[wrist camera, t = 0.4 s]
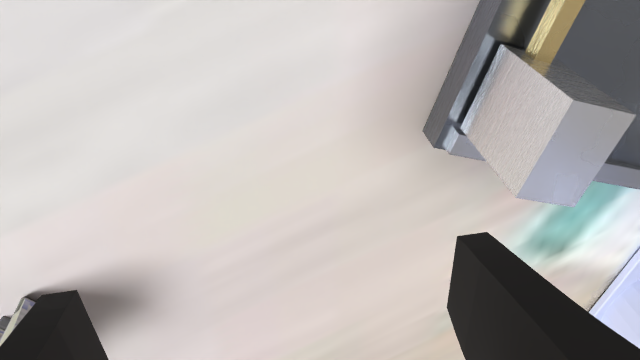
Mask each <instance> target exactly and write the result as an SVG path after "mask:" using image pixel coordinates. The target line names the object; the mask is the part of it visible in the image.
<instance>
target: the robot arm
mask: <svg viewBox="0 0 640 360" xmlns="http://www.w3.org/2000/svg"><path fill="white" fill-rule="evenodd" d="M447 309H448V312H449V315H450V318H451V321H452V324H453V327H454V330H455V333H456V336H457V338H458V341H459V344H460V347H461V349H462V352H463V355H464V357H465V359H466V360H640V249H639V250H638V251H637V252H636V254H635V255H634V256H633V257H632V259H631V260H630V261H629V262H628V264H627V265H626V266H625V267H624V269H623V270H622V271H621V272H620V274H619V275H618V276H617V277H616V279H615V280H614V281H613V282H612V284H611V285H610V286H609V287H608V289H607V290H606V291H605V292H604V294H603V295H602V296H601V297H600V299H599V300H598V301H597V302H596V304H595V305H594V306H593V308H592V309H591V310H590V311H589V312H587V311H586V310H585V309H583V308H582V307H581V306H579V305H578V304H577V303H575V302H574V301H573V300H571V299H570V298H569V297H567V296H566V295H565V294H564V293H562V292H561V291H560V290H558V289H557V288H556V287H555V286H553V285H552V284H551V283H550V282H548V281H547V280H546V279H544V278H543V277H542V276H541V275H539V274H538V273H537V272H536V271H535V270H533V269H532V268H531V267H530V266H528V265H527V264H526V263H525V262H523V261H522V260H521V259H520V258H518V257H517V256H516V255H515V254H514V253H512V252H511V251H510V250H509V249H507V248H506V247H505V246H504V245H503V244H501V243H500V242H499V241H498V240H496V239H495V238H494V237H493V236H491V235H490V234H489V233H487V232H484V233H477V234H470V235H463V236H457V241H456V248H455V255H454V262H453V269H452V276H451V283H450V290H449V296H448V303H447ZM0 360H108V358H107V355H106V353H105V351H104V349H103V347H102V344H101V342H100V340H99V338H98V336H97V333H96V331H95V329H94V327H93V325H92V322H91V320H90V318H89V316H88V314H87V311H86V309H85V307H84V305H83V303H82V301H81V298H80V296H79V294H78V292H77V290H74V291H67V292H60V293H53V294H46V295H42V296H41V297H40V298H39V299H38V301H37V302H36V303H35V304H34V305H33V307H32V308H31V309H30V310H29V311H28V313H27V314H26V315H25V316H24V317H23V319H22V320H21V321H20V322H19V324H18V325H17V326H16V327H15V329H14V330H13V331H12V332H11V333H10V335H9V336H8V337H7V338H6V340H5V341H4V342H3V343H2V345H1V346H0Z"/></svg>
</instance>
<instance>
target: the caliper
mask: <svg viewBox="0 0 640 360" xmlns="http://www.w3.org/2000/svg"><path fill="white" fill-rule="evenodd" d="M35 303H36V302H34V301H32V300H30V299H28V298H25V297H23V298H22V299H21V300H20V302H19V304H18V306H17V308H16V310H15V312H14V314H13V316H12V318H11V319H10V318H8V317H5V316H3V317H2V318H1V319H0V346H1V345H2V343H3V342H4V341H5V340H6V338H7V337H8V336H9V335H10V333H11V332H12V331H13V330H14V329H15V327H16V326H17V325H18V324H19V322H20V321H21V320H22V319H23V317H24V316H25V315H26V314H27V313H28V311H29V310H30V309H31V308H32V307H33V305H34V304H35Z"/></svg>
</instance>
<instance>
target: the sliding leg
mask: <svg viewBox="0 0 640 360" xmlns="http://www.w3.org/2000/svg"><path fill="white" fill-rule="evenodd" d="M584 2H585V0H551V2H550V4H549V6H548V7H547V9H546V11H545V13H544V15H543V17H542V19H541V21H540V23H539V25H538V27H537V29H536V31H535V33H534V35H533V37H532V39H531V41H530V43H529V45H528V47H527V48H526V50H523V49H519V48H515V47H512V46H508V45H504V44H501V45H500V47H499V49H498V51H497V53H496V55H495V57H494V59H493V61H492V63H491V65H490V68H489V70H488V72H487V74H486V76H485V78H484V80H483V82H482V84H481V86H480V88H479V90H478V92H477V94H476V97H475V99H474V101H473V103H472V105H471V107H470V109H469V111H468V113H467V115H466V117H465V119H464V121H463V123H462V126H461V129H462V131H463V132H464V133H465V135H466V136H467V137H468V138H469V140H470V141H471V142H472V143H473V145H474V146H475V147H476V148H477V150H478V151H479V152H480V153H481V155H482V156H483V157H484V159H485V160H486V161H487V162H488V164H489V165H490V166H491V167H492V169H493V170H494V171H495V172H496V174H497V175H498V176H499V177H500V179H501V180H502V181H503V183H504V184H505V185H506V186H507V188H508V189H509V190H510V191H511V193H512V194H513V195H514V196H515V198H520V199H526V200H533V201H539V202H545V203H551V204H557V205H563V206H569V207H575V205H576V204H577V203H578V201H579V200H580V198H581V197H582V195H583V194H584V192H585V191H586V189H587V188H588V186H589V185H590V183H591V182H592V180H593V179H594V177H595V176H596V174H597V173H598V171H599V170H600V168H601V167H602V165H603V164H604V163H605V161H606V160H607V158H608V157H609V155H610V154H611V152H612V151H613V149H614V148H615V146H616V145H617V143H618V142H619V140H620V139H621V137H622V136H623V134H624V133H625V131H626V130H627V128H628V127H629V125H630V124H631V123H632V121H633V120H634V118H635V117H636V114H634V113H633V112H631V111H630V110H629V109H627V108H626V107H624V106H623V105H621V104H620V103H619V102H617V101H616V100H614V99H613V98H611V97H610V96H608V95H607V94H606V93H604V92H603V91H601V90H600V89H598V88H597V87H596V86H594V85H593V84H591V83H590V82H588V81H587V80H585V79H584V78H583V77H581V76H580V75H578V74H577V73H575V72H574V71H573V70H571V69H570V68H568V67H567V66H565V65H564V64H562V63H561V62H560V61H558V60H557V59H555V58H554V57H555V55H556V53H557V51H558V50H559V48H560V46H561V44H562V42H563V40H564V39H565V37H566V35H567V33H568V31H569V29H570V28H571V26H572V24H573V22H574V20H575V18H576V17H577V15H578V13H579V11H580V9H581V7H582V6H583V4H584Z"/></svg>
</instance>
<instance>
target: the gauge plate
mask: <svg viewBox="0 0 640 360" xmlns="http://www.w3.org/2000/svg"><path fill="white" fill-rule="evenodd" d="M550 2H551V0H480V2H479V4H478V7H477V9H476V11H475V13H474V16H473V18H472V20H471V22H470V25H469V27H468V29H467V32H466V34H465V36H464V38H463V41H462V43H461V45H460V47H459V50H458V52H457V54H456V57H455V59H454V61H453V63H452V66H451V68H450V70H449V72H448V75H447V77H446V79H445V81H444V84H443V86H442V88H441V91H440V93H439V95H438V97H437V100H436V102H435V104H434V106H433V109H432V111H431V113H430V115H429V118H428V120H427V122H426V125H425V127H424V129H423V132H424V134H425V135H426V137H427V138H428V140H429V141H430V143H431V144H432V146H433V147H434V148H439V149H444V150H447V152H448V153H449V154H450V155H455V156H461V157H466V158H472V159H477V160H483V161H486V160H485V159H484V157H483V156H482V155H481V153H480V152H479V151H478V150H477V148H476V147H475V146H474V145H473V143H472V142H471V141H470V140H469V138H468V137H467V136H466V135H465V133H464V132H463V131H462V129H461V126H462V123H463V121H464V119H465V117H466V115H467V113H468V111H469V109H470V107H471V105H472V103H473V101H474V99H475V97H476V94H477V92H478V90H479V88H480V86H481V84H482V82H483V80H484V78H485V76H486V74H487V72H488V70H489V68H490V65H491V63H492V61H493V59H494V57H495V55H496V53H497V51H498V49H499V47H500V45H501V44H504V45H508V46H512V47H515V48H519V49H523V50H526V48H527V47H528V45H529V43H530V41H531V39H532V37H533V35H534V33H535V31H536V29H537V27H538V25H539V23H540V21H541V19H542V17H543V15H544V13H545V11H546V9H547V7H548V6H549V4H550ZM554 58H555V59H557V60H558V61H560V62H561V63H562V64H564V65H565V66H567V67H568V68H570V69H571V70H573V71H574V72H575V73H577V74H578V75H580V76H581V77H583V78H584V79H585V80H587V81H588V82H590V83H591V84H593V85H594V86H596V87H597V88H598V89H600V90H601V91H603V92H604V93H606V94H607V95H608V96H610V97H611V98H613V99H614V100H616V101H617V102H619V103H620V104H621V105H623V106H624V107H626V108H627V109H629V110H630V111H631V112H633V113H634V114H636V117H635V118H634V120H633V121H632V123H631V124H630V125H629V127H628V128H627V130H626V131H625V133H624V134H623V136H622V137H621V139H620V140H619V142H618V143H617V145H616V146H615V148H614V149H613V151H612V152H611V154H610V155H609V157H608V158H607V160H606V161H605V163H604V164H603V165H602V167H601V168H600V170H599V171H598V173H597V174H596V176H595V177H594V179H593V180H592V181H597V182H602V183H608V184H613V185H619V186H624V187H629V188H635V189H640V0H585V2H584V4H583V6H582V7H581V9H580V11H579V13H578V15H577V17H576V18H575V20H574V22H573V24H572V26H571V28H570V29H569V31H568V33H567V35H566V37H565V39H564V40H563V42H562V44H561V46H560V48H559V50H558V51H557V53H556V55H555V57H554Z"/></svg>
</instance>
